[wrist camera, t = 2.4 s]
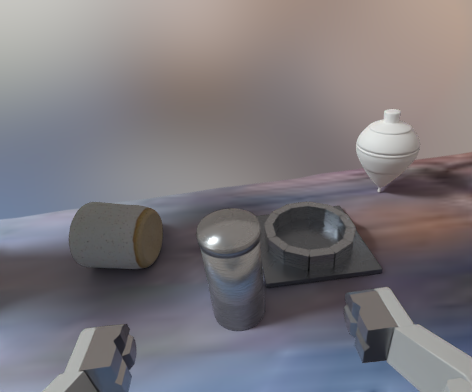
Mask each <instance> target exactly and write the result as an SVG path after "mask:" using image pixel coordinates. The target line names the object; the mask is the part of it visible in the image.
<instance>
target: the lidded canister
mask: <svg viewBox="0 0 472 392" xmlns="http://www.w3.org/2000/svg"><path fill="white" fill-rule="evenodd" d="M196 236H197V240H198V245H199V247H200V249H201V253H202V258H203V263H204V268H205V272H206V277H207V282H208V287H209V292H210V296H211V301H212V306H213V311H214V315H215V318H216V320H217V322H218V323H219V324H220V325H221V326H223V327H224V328H226V329H229V330H232V331H243V330H247V329H250V328H252V327H254V326H255V325H257V324H258V323H259V322H260V321H261V319H262V318H263V316H264V313H265V298H264V285H263V271H262V258H261V244H260V239H261V228H260V223H259V221H258V219H257V217H256V216H255V215H254V214H252V213H251V212H248V211H246V210H242V209H235V208H230V209H222V210H218V211H215V212H213V213H211V214H209V215H207V216H206V217H204V218H203V219H202V220H201V221H200V223H199V224H198V227H197V232H196Z"/></svg>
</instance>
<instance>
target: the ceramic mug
mask: <svg viewBox="0 0 472 392" xmlns="http://www.w3.org/2000/svg"><path fill="white" fill-rule="evenodd" d="M162 238H163V228H162V221H161V218H160V216H159V215H158V213H157V212H156V211H155V210H153V209H151V208H148V207H144V206H139V205H122V204H112V203H101V202H91V203H88V204H85V205H84V206H82V207H81V208H80V209H79V210H78V212H77V213H76V215H75V216H74V218H73V220H72V223H71V226H70V232H69V246H70V251H71V254H72V256H73V258H74V260H75V261H76V262H77V263H78V264H79V265H81V266H84V267H95V268H121V269H141V268H146V267H149V266H150V265H152V264H153V263H154V261H155V260H156V259H157V257H158V255H159V252H160V249H161V245H162Z"/></svg>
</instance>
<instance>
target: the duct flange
mask: <svg viewBox="0 0 472 392" xmlns="http://www.w3.org/2000/svg"><path fill="white" fill-rule="evenodd" d="M256 217H257V219H258V221H259V223H260V228H261V239H260V244H261V258H262V268H263V273H264V278H265V282H266V287H267V288H270V287H278V286H286V285H294V284H301V283H309V282H317V281H325V280H333V279H340V278H348V277H356V276H364V275H372V274H380V273H382V268H381V266H380V265H379V263H378V262H377V261H376V259H375V258H374V256H373V255H372V253H371V252H370V250H369V249H368V247H367V246H366V244H365V243H364V241H363V240H362V238H361V237H360V235H359V234H358V232H357V231H356V227H355V225H354V224H353V222H352V221H351V219H350V218H349V216H348V215H347V214H346V213H344V212H343V210H342V209H341V207H340V206H334V207H332V206H330V205H329V206H328V205H327V204H320V203H314V202H301V203H293V204H288V205H285V206H283V207H281V208H279V209H277V210H275V211H273V212H272V213H271V214H270V215H262V216H256Z"/></svg>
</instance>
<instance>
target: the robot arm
mask: <svg viewBox="0 0 472 392" xmlns="http://www.w3.org/2000/svg"><path fill="white" fill-rule="evenodd" d="M345 301H346V303H347V305H346V306H345V307H344V319H345V323H346V327H347V329H348V332H349V334H350V335H352V336H353V337H354V338H355V347H356V350H357V352H358V354H359V356H360V359H361V361H362V363H367V362H376V361H385V360H387V362H388V363H389V364H390V365H391V366H392V367H393V368H394V369H395V370H397V371H398V372H399V373H400V374H401V375H402V376H403V377H404V378H406V379H407V380H408V381H409V382H410V383H411V384H412V385H413V386H415V387H416V388H417V389H418V390H419V391H420V392H472V357H470V356H469V355H467V354H466V353H464V352H462V351H461V350H459V349H458V348H456V347H454V346H453V345H451V344H450V343H448V342H446V341H445V340H443V339H442V338H440V337H438V336H437V335H435V334H434V333H432V332H430V331H429V330H427V329H425V328H424V327H422V326H421V325H419V324H418V325H414V323H413V322H412V320H411V319H410V317H409V316H408V314H407V313H406V311H405V310H404V308H403V307H402V305H401V304H400V302H399V301H398V299H397V298H396V297H395V295H394V294H393V292H392V291H391V289H390V288H388V287H383V288H376V289H367V290H361V291H354V292H348V293H346V295H345ZM129 331H130V329H129V327H128V325H127V324H120V325H111V326H102V327H93V328H86V329H84V330H83V331H82V332H81V333H80V336H79V338H78V340H77V343H76V345H75V348H74V350H73V352H72V355H71V357H70V360H69V362H68V364H67V367H66V369H65V372H64V374H59V375H58V376H57V377H56V378H55V379H54V380H53V381H52V382H51V383H50V384H49V385H48V386H47V387H46V388H45V389H44V390H43V391H42V392H128V391H129V387H130V382H131V378H132V376H131V374H130V372H129V370H130V369H131V367H132V366H133V365H134V364H135V359H136V343H135V340H134V337H133V336H131V335H129Z"/></svg>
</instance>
